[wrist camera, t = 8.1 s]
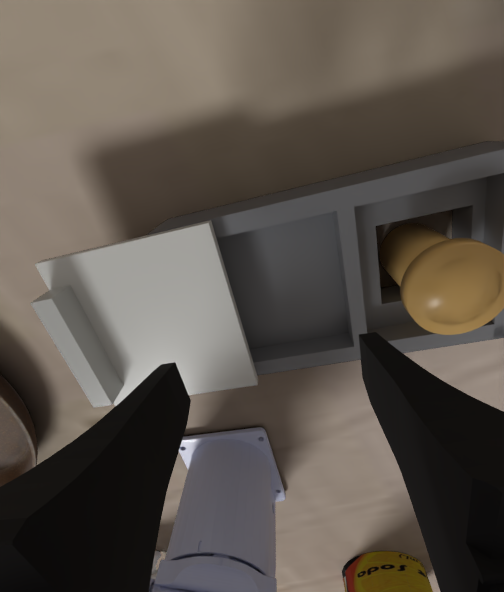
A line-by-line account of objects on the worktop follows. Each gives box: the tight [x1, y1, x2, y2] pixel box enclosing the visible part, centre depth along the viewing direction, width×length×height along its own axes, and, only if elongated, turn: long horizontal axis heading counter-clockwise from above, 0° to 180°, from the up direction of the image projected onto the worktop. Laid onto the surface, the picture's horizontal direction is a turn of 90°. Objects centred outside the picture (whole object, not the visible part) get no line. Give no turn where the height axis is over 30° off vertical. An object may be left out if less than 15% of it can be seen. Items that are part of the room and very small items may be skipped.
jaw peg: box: [379, 223, 504, 335], centre depth 17 cm, size 4×4×6 cm
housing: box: [147, 141, 504, 375], centre depth 18 cm, size 10×18×4 cm, turn 104°
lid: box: [30, 220, 258, 407], centre depth 17 cm, size 10×10×2 cm
